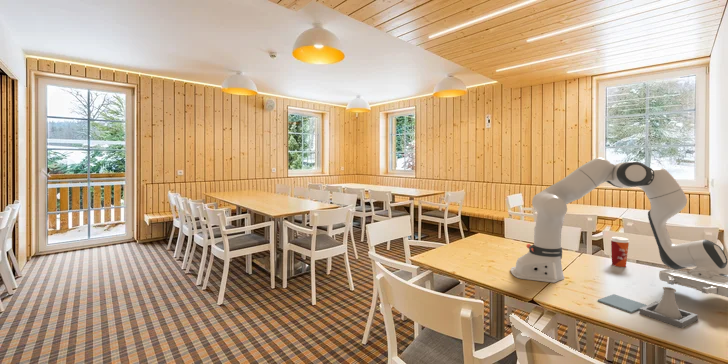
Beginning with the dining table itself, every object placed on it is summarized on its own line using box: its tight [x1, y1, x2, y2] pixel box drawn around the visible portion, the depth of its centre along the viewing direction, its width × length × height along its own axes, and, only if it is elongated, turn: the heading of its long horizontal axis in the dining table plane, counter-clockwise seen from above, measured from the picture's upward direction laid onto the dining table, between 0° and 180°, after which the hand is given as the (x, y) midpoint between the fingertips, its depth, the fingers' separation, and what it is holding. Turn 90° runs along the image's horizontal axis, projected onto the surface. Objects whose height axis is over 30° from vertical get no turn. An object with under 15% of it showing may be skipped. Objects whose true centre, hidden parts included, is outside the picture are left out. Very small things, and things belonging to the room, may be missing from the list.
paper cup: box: [609, 236, 630, 268], centre depth 165 cm, size 8×8×14 cm
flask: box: [653, 286, 683, 320], centre depth 112 cm, size 7×7×10 cm
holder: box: [639, 301, 699, 329], centre depth 113 cm, size 11×11×2 cm
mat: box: [597, 293, 648, 314], centre depth 123 cm, size 11×11×1 cm
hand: (686, 286), depth 117 cm, fingers open, 8 cm apart
